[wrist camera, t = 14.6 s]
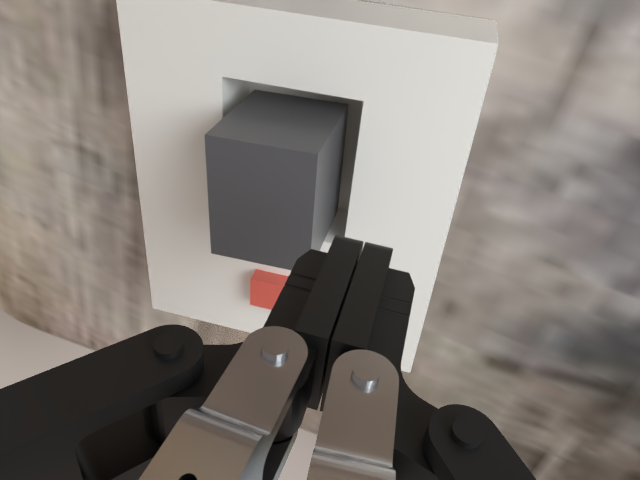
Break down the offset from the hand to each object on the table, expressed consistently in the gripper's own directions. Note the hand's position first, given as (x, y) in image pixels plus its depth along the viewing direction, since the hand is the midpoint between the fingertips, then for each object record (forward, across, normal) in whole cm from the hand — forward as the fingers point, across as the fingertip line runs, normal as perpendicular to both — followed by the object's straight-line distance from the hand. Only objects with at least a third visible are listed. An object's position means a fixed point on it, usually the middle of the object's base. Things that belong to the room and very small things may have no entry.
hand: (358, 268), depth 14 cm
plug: (+11, +4, +2) cm, 12 cm away
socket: (+12, +4, +4) cm, 13 cm away
